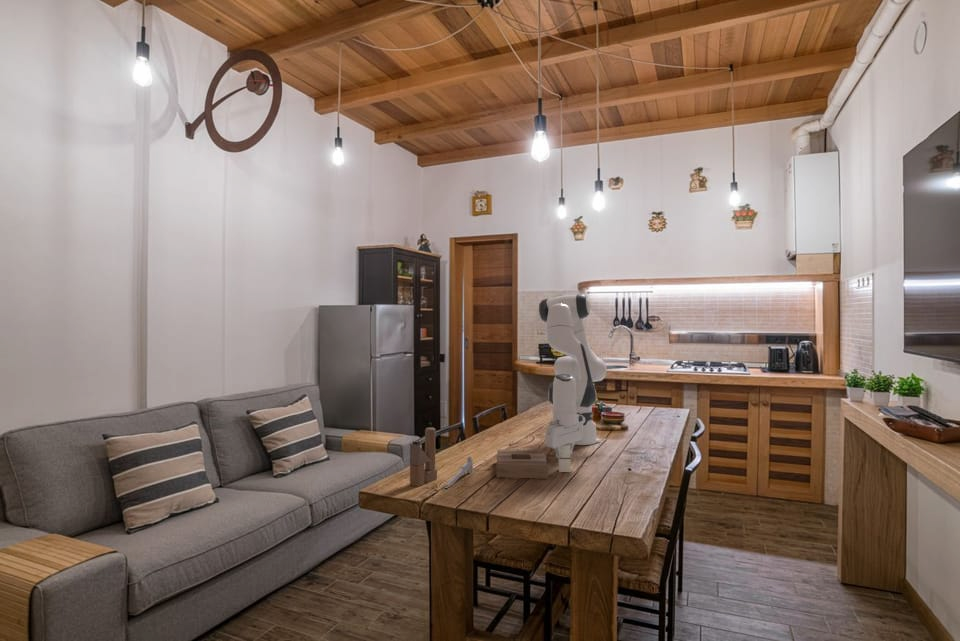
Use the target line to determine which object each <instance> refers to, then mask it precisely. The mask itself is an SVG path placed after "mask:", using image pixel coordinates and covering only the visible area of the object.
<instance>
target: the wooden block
mask: <svg viewBox="0 0 960 641" xmlns="http://www.w3.org/2000/svg"><path fill="white" fill-rule="evenodd" d="M436 479H438V469H437V468H436V428H435V427H432V426H431V427H426V428H425V429H424V450H423V449H422V448H421V447H420V446H419V445H418V444H415V443H414V444H413V443H410V444H409V484H410V486H411V485H412V487H416V488H418V487H421V486H423V485H425V484H426V483H430V482H432V481H434V480H436Z"/></svg>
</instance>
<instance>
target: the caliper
mask: <svg viewBox="0 0 960 641" xmlns="http://www.w3.org/2000/svg"><path fill="white" fill-rule="evenodd" d="M466 459H467V461H466V462H465V463H464V464H463V465H462V466H461V468H460V469H459V470H458V471H457V472H456V474H454V476H452V478H451V479H450V480H449V481H448V482H447V483H446V484H445V487H444V488H448V487H450V486H451V485H452V486H453V485H454V484H456V482H457V481H458V479H460V478H461V477H462V475H463V474H466V473H467V474H468V473H473V471H474V468H473V467H474V462H473V459H472V456H468V457H467V458H466ZM452 486H451V487H452ZM451 487H450V488H451ZM448 489H449V488H448Z"/></svg>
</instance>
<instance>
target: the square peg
mask: <svg viewBox="0 0 960 641" xmlns="http://www.w3.org/2000/svg"><path fill="white" fill-rule="evenodd" d="M560 452H561V453H562V457H561V458H557V460H558V461H557V462H558V463H557V464H558V466H557V469H558V472H559V473H560V472H570V473H571V454H570V444H566V445H563V446H561V449H560Z"/></svg>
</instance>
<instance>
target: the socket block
mask: <svg viewBox="0 0 960 641" xmlns="http://www.w3.org/2000/svg"><path fill="white" fill-rule="evenodd" d="M496 450H497V451H496V452H497V453H496V478H497V477H505V478H504V479H521V478H535V479H536V480H548V478H549V477H548V476H549V475H548V471H549V470H548V467H549V466H548V461H547V458H546V454H545V452H544V450H543V449H502V448H500V449H496ZM535 479H534V480H535Z"/></svg>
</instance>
